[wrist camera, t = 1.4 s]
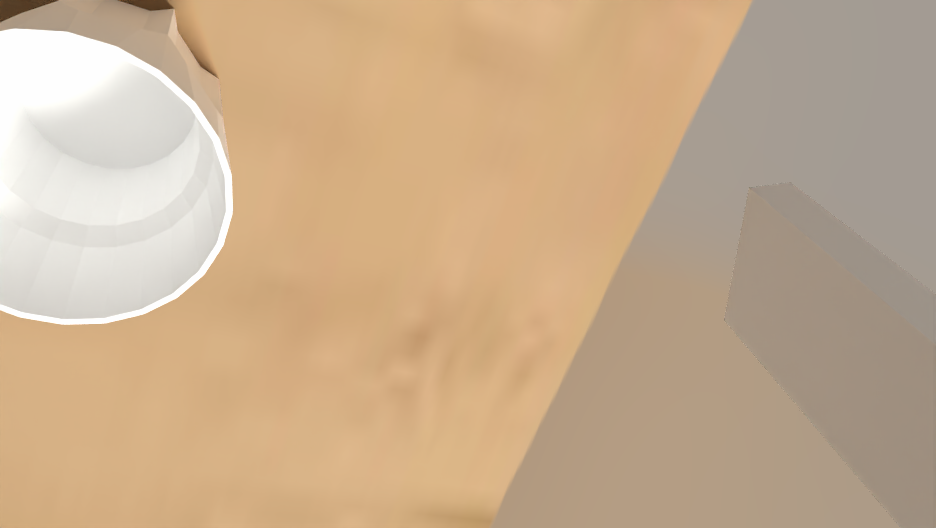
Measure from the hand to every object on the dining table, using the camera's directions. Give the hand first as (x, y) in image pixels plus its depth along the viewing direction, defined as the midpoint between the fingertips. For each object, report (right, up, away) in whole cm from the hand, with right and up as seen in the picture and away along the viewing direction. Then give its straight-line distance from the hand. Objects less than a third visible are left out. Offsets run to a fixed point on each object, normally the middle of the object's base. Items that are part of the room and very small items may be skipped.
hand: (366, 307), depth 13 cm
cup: (-13, +8, +20) cm, 26 cm away
